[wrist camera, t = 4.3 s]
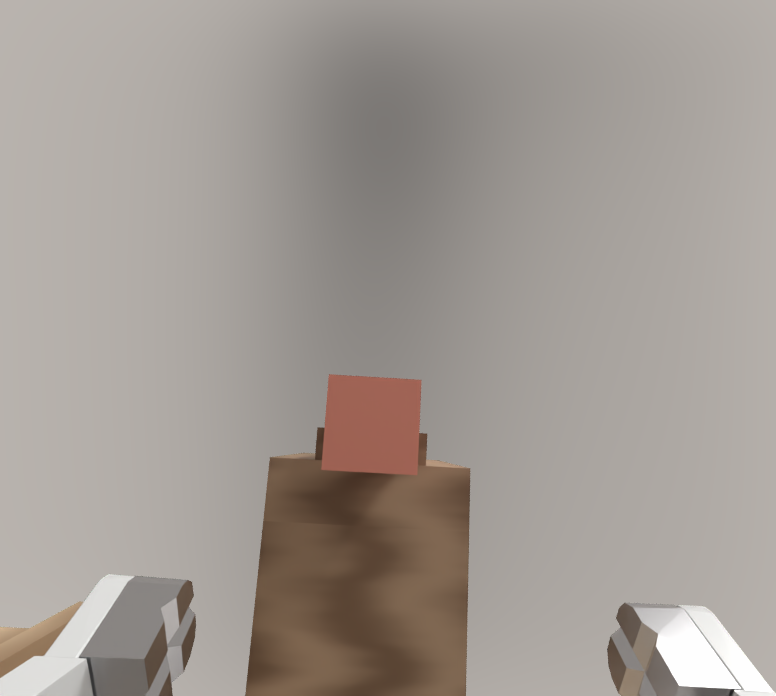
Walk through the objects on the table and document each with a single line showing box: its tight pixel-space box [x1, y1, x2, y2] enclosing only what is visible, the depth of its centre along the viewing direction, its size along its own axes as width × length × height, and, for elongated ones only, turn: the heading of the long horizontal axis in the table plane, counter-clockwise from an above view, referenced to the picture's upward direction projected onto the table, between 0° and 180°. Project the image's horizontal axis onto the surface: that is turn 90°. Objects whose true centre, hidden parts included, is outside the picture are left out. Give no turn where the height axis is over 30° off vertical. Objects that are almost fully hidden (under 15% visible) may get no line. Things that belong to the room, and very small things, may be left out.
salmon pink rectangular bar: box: [321, 374, 421, 475], centre depth 26 cm, size 20×3×3 cm, turn 2°
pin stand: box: [245, 428, 470, 696], centre depth 27 cm, size 10×12×28 cm
